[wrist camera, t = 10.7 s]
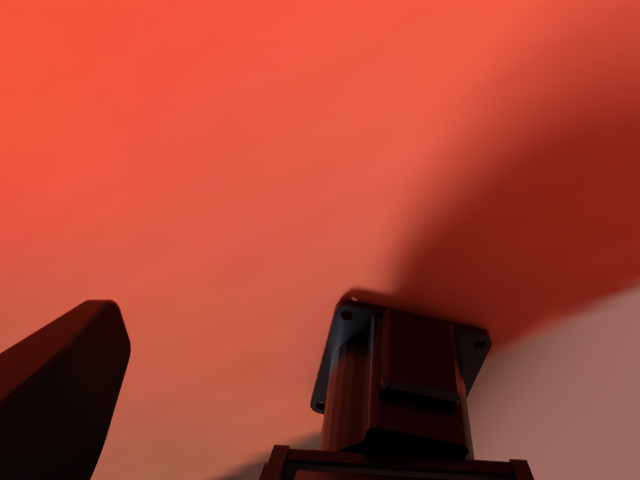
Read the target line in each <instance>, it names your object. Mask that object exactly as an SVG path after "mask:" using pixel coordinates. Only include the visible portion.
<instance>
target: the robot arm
mask: <svg viewBox="0 0 640 480" xmlns="http://www.w3.org/2000/svg"><path fill="white" fill-rule="evenodd" d="M345 310H347V311H350V312H352V313H350V314H345V313H343V312H342V311H345ZM477 339H482V341H480V342H475V340H477ZM491 344H492V342H491V337H490V334H489V332H488V331H487V330H485V329H482V328H478V327H473V326H469V325H464V324H459V323H455V322H450V321H446V320H441V319H436V318H432V317H427V316H423V315H418V314H413V313H409V312H404V311H400V310H395V309H390V308H385V307H381V306H376V305H372V304H367V303H362V302H358V301H353V300H341V301H340V302H338V303H337V305H336V306H335V310H334V314H333V318H332V321H331V325H330V329H329V333H328V337H327V340H326V344H325V348H324V352H323V355H322V359H321V363H320V367H319V371H318V374H317V378H316V382H315V386H314V389H313V393H312V397H311V403H310V405H311V408H312V410H313V411H315V412H317V413H320V414H324V420H323V428H322V436H321V444H320V450H308V449H292V448H290V446H288V445H274V447H273V450H272V453H271V456H270V459H269V462H268V463H265V465H264V467H263V470H262V473H261V476H260V479H259V480H534V478H533V476H532V473H531V470H530V468H529V465H528V463H527V460H518V459H510V460H509V462H503V461H487V460H475V459H474V451H473V444H472V437H471V429H470V421H469V413H468V405H467V396H468V394H469V392H470V390H471V388H472V385H473V383H474V381H475V379H476V377H477V375H478V373H479V371H480V369H481V367H482V364H483V362H484V360H485V358H486V356H487V354H488V352H489V350H490V347H491ZM130 352H131V346H130V340H129V336H128V333H127V330H126V327H125V324H124V321H123V317H122V314H121V311H120V308H119V306H118V304H117V303H116V302H115V301H113V300H87V301H85V302H83V303H81V304H80V305H78V306H77V307H75V308H73V309H72V310H70V311H68V312H67V313H65V314H64V315H62V316H60V317H59V318H57V319H55V320H54V321H52V322H51V323H49V324H47V325H46V326H44V327H42V328H41V329H39V330H38V331H36V332H34V333H33V334H31V335H29V336H28V337H26V338H25V339H23V340H21V341H20V342H18V343H17V344H15V345H13V346H12V347H10V348H8V349H7V350H5V351H4V352H2V353H0V480H90V479H91V476H92V474H93V472H94V469H95V467H96V464H97V462H98V459H99V457H100V454H101V451H102V449H103V446H104V443H105V440H106V437H107V434H108V430H109V427H110V423H111V420H112V417H113V413H114V410H115V406H116V403H117V399H118V396H119V393H120V389H121V386H122V382H123V379H124V375H125V372H126V369H127V365H128V362H129V358H130ZM320 402H323V403H320Z"/></svg>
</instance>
